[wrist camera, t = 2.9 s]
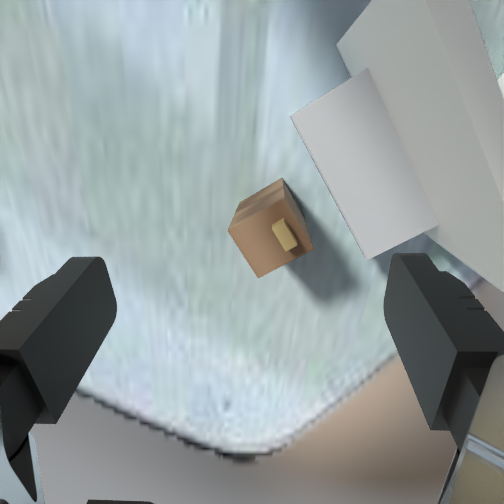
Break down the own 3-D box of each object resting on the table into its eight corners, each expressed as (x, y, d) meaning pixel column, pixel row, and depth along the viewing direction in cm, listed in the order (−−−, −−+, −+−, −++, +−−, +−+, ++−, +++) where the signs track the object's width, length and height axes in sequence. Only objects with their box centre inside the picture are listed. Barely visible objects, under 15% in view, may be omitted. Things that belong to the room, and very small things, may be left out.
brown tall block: (262, 239, 38) (257, 284, 27) (239, 202, 37) (225, 235, 26) (304, 216, 37) (315, 254, 26) (282, 177, 36) (285, 201, 25)
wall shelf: (365, 262, 38) (438, 374, 21) (271, 87, 33) (269, 50, 16) (477, 206, 35) (662, 284, 18) (395, 6, 30) (550, -143, 13)
